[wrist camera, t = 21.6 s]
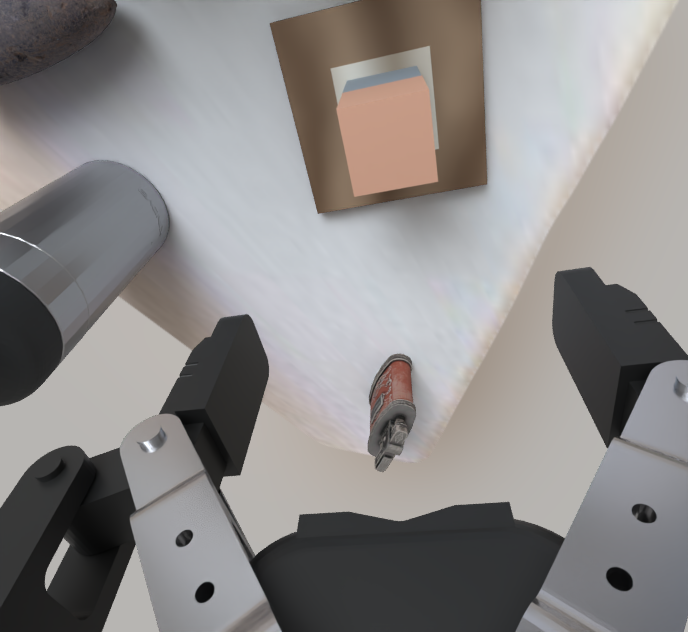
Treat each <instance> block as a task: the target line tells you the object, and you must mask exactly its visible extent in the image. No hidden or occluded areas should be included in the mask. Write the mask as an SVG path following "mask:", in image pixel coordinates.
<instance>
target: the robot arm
mask: <svg viewBox="0 0 688 632" xmlns="http://www.w3.org/2000/svg"><path fill="white" fill-rule="evenodd" d="M168 228H169V219H168V213H167V210H166V207H165V204H164V202H163V200H162V198H161V196H160V195H159V193H158V192H157V190H156V189H155V188H154V187H153V185H152V184H151V183H150V182H149V181H148V180H147V179H145V178H144V177H143V176H142V175H141V174H139V173H138V172H136V171H134V170H133V169H131V168H129V167H127V166H125V165H122V164H120V163H116V162H111V161H93V162H88V163H85V164H83V165H82V166H80V167H78V168H76V169H74V170H73V171H71V172H69V173H67V174H66V175H64V176H62V177H60V178H59V179H57V180H55V181H53V182H51V183H50V184H48V185H46V186H45V187H43V188H41V189H39V190H38V191H36V192H34V193H33V194H31V195H29V196H27V197H26V198H24V199H22V200H20V201H19V202H17V203H15V204H14V205H12V206H10V207H8V208H7V209H5V210H3V211H2V212H0V406H4V405H9V404H12V403H15V402H18V401H20V400H22V399H24V398H26V397H27V396H29V395H30V394H32V393H33V392H35V391H36V390H37V389H38V388H39V387H40V386H41V385H42V384H43V383H44V382H45V380H46V379H47V378H48V377H49V376H50V375H51V373H52V372H53V371H54V370H55V369H56V367H57V366H58V365H59V364H60V363H61V362H62V361H63V359H64V358H65V357H66V356H67V355H68V354H69V352H70V351H71V350H72V349H73V348H74V347H75V345H76V344H77V343H78V342H79V341H80V340H81V339H82V337H83V336H84V335H85V334H86V332H87V331H88V330H89V329H90V328H91V327H92V325H93V324H94V323H95V322H96V321H97V320H98V318H99V317H100V316H101V315H102V314H103V313H104V311H105V310H106V309H107V308H108V307H109V306H110V304H111V303H112V302H113V301H114V300H115V299H116V298H117V296H118V295H119V294H120V293H121V292H122V291H123V289H124V288H125V287H126V286H127V285H128V284H129V283H130V281H131V280H132V279H133V278H134V277H135V276H136V274H137V273H138V272H139V271H140V270H141V269H142V268H143V266H144V265H145V264H146V263H147V262H148V261H149V260H150V258H151V257H152V256H153V255H154V254H155V253H156V251H157V250H158V249H159V248H160V247H161V245H162V244H163V243H164V241H165V239H166V237H167V234H168ZM552 326H553V335H554V339H555V343H556V345H557V348H558V350H559V352H560V354H561V356H562V358H563V360H564V362H565V364H566V366H567V368H568V370H569V372H570V374H571V376H572V378H573V380H574V382H575V384H576V386H577V388H578V390H579V392H580V394H581V396H582V398H583V400H584V402H585V404H586V406H587V408H588V411H589V413H590V414H591V416H592V419H593V420H594V423H595V424H596V427H597V429H598V431H599V433H600V435H601V437H602V439H603V441H604V443H605V445H606V447H607V448H608V450H607V452H606V454H605V456H604V458H603V460H602V462H601V464H600V466H599V468H598V471H597V473H596V475H595V477H594V479H593V481H592V483H591V485H590V487H589V489H588V491H587V494H586V496H585V498H584V500H583V502H582V504H581V506H580V508H579V510H578V513H577V514H576V517H575V519H574V521H573V523H572V525H571V527H570V529H569V531H568V533H567V536H566V538H563V537H561V536H560V535H558V534H556V533H554V532H552V531H550V530H547V529H545V528H543V527H540V526H538V525H535V524H532V523H528V522H525V521H521V520H516V519H514V518H513V515H512V511H511V507H510V503H509V502H501V503H485V504H468V505H454V506H451V507H448V508H445V509H441V510H438V511H435V512H432V513H429V514H426V515H422V516H419V517H416V518H412V519H409V520H406V521H393V520H388V519H383V518H378V517H372V516H367V515H362V514H357V513H352V512H336V513H320V514H303V515H300V516H299V522H298V529H297V532H294V533H291V534H290V535H287V536H285V537H283V538H280V539H279V540H277V541H275V542H274V543H272V544H270V545H269V546H268V547H266V548H265V549H263V550H262V551H260V552H259V553H258V554H257V555H256V556H255V554H254V552H253V551H252V549H251V547H250V545H249V543H248V541H247V539H246V537H245V535H244V533H243V531H242V529H241V527H240V525H239V523H238V522H237V520H236V518H235V516H234V514H233V512H232V510H231V508H230V506H229V504H228V502H227V500H226V498H225V496H224V494H223V492H222V491H221V489H220V484H221V481H222V478H223V477H224V476H236V475H240V474H241V471H242V467H243V464H244V460H245V457H246V453H247V450H248V446H249V443H250V440H251V436H252V433H253V429H254V426H255V422H256V419H257V415H258V412H259V409H260V405H261V402H262V398H263V395H264V391H265V388H266V384H267V381H268V377H269V365H268V359H267V356H266V353H265V351H264V348H263V346H262V343H261V341H260V338H259V335H258V333H257V330H256V328H255V325H254V323H253V320H252V318H251V317H250V316H249V315H248V314H245V315H238V316H231V317H224V318H221V319H220V320H219V321H218V323H217V325H216V327H215V329H214V331H213V334H212V336H211V337H207V338H205V339H204V340H203V341H202V342H201V343H200V344H198V345H197V346H196V347H195V348H194V349H193V350H192V352H191V354H190V356H189V358H188V360H187V362H186V366H185V367H183V370H182V371H181V373H180V378H178V379H177V381H176V383H175V385H174V386H173V388H172V390H171V392H170V394H169V396H168V398H167V400H166V402H165V404H164V405H163V407H162V410H161V411H160V413H159V415H155V416H152V417H150V418H148V419H146V420H144V421H143V422H141V423H139V424H138V425H136V426H135V427H134V428H133V429H132V430H130V432H129V433H128V434H127V435H126V436H125V438H124V439H123V441H122V444H121V446H120V448H117V449H114V450H111V451H109V452H106V453H103V454H100V455H97V456H95V457H92V458H88V456H87V455H86V454H85V453H84V451H83V450H82V449H81V448H80V447H77V446H65V447H61V448H58V449H55V450H53V451H51V452H49V453H47V454H46V455H44V456H43V457H41V458H40V459H38V460H37V461H36V462H35V463H34V464H32V465H31V466H30V468H28V470H27V471H26V472H25V473H24V475H23V476H22V477H21V479H20V480H19V482H18V483H17V485H16V486H15V488H14V489H13V491H12V492H11V494H10V495H9V497H8V498H7V499H6V501H5V502H4V504H3V505H2V507H1V508H0V632H102V629H103V627H104V625H105V622H106V619H107V617H108V614H109V611H110V609H111V607H112V604H113V601H114V599H115V596H116V594H117V591H118V588H119V586H120V583H121V580H122V578H123V576H124V573H125V570H126V568H127V565H128V563H129V560H130V558H131V555H132V552H133V550H134V547H135V545H136V546H137V550H138V554H139V557H140V561H141V565H142V568H143V572H144V576H145V580H146V583H147V587H148V591H149V594H150V598H151V602H152V606H153V610H154V613H155V616H156V621H157V624H158V628H159V631H160V632H684V629H685V625H686V622H687V618H688V355H687V354H686V353H685V352H684V351H683V349H682V348H681V347H680V346H679V344H678V343H677V342H676V341H675V340H674V339H673V337H672V336H671V335H670V334H669V333H668V332H667V330H666V329H665V328H664V327H663V325H662V324H661V323H660V322H657V319H656V317H655V316H654V315H653V314H652V312H651V311H648V308H647V307H646V305H645V304H644V303H643V302H642V301H641V299H640V298H639V297H638V296H637V295H636V294H635V293H633V292H631V291H629V290H627V289H626V288H624V287H622V286H620V285H618V284H613V285H605V284H604V283H603V281H602V280H601V279H600V278H599V276H598V275H597V274H596V272H595V271H594V270H593V269H592V268H591V267H586V268H579V269H573V270H565V271H558V272H557V273H556V275H555V282H554V301H553V319H552ZM63 538H64V539H65V540H66V541H67V542H68V543H69V544H70V546H69V548H68V550H67V552H66V554H65V556H64V558H63V560H62V562H61V564H60V566H59V568H58V570H57V572H56V574H55V576H54V578H53V580H52V582H51V584H50V586H49V588H48V589H47V591H46V589H45V574H46V571H47V568H48V566H49V564H50V562H51V560H52V558H53V556H54V554H55V552H56V551H57V549H58V547H59V545H60V543H61V541H62V539H63Z"/></svg>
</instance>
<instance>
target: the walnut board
mask: <svg viewBox="0 0 688 632" xmlns="http://www.w3.org/2000/svg"><path fill="white" fill-rule="evenodd" d="M270 27H271V30H272V34H273V38H274V42H275V46H276V50H277V54H278V58H279V62H280V66H281V70H282V74H283V78H284V82H285V86H286V90H287V94H288V98H289V102H290V105H291V109H292V113H293V117H294V121H295V125H296V129H297V133H298V137H299V141H300V145H301V149H302V153H303V157H304V161H305V165H306V169H307V173H308V176H309V180H310V184H311V188H312V192H313V196H314V200H315V204H316V208H317V212H318V214H319V213H325V212H331V211H336V210H342V209H348V208H353V207H359V206H365V205H371V204H376V203H382V202H388V201H394V200H399V199H405V198H411V197H416V196H422V195H428V194H434V193H439V192H445V191H451V190H456V189H462V188H468V187H474V186H479V185H485V184H487V166H486V137H485V109H484V80H483V52H482V23H481V0H360V1H356V2H352V3H348V4H344V5H340V6H336V7H332V8H328V9H324V10H320V11H316V12H312V13H308V14H304V15H301V16H297V17H293V18H289V19H285V20H281V21H277V22H273V23H270ZM413 66H417V67H418V69H419V71H420V74H421V75H422V76H423V78H424V80H425V82H426V84H427V86H428V88H429V94H430V104H431V114H432V124H433V134H434V145H435V155H436V165H437V175H438V182H434V183H428V184H423V185H417V186H412V187H406V188H401V189H395V190H390V191H384V192H379V193H373V194H368V195H362V196H357V197H354V193H353V188H352V184H351V179H350V174H349V169H348V164H347V159H346V154H345V149H344V145H343V140H342V135H341V130H340V125H339V120H338V115H337V110H336V109H337V106H338V104H339V101H340V98H341V96H342V93H343V90H344V87H345V85H346V82H347V81H348V80H353V79H357V78H362V77H366V76H371V75H376V74H380V73H385V72H390V71H394V70H399V69H403V68H408V67H413Z"/></svg>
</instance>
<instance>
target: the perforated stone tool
mask: <svg viewBox="0 0 688 632" xmlns="http://www.w3.org/2000/svg"><path fill="white" fill-rule="evenodd" d="M116 7H117V4H116V1H114V0H0V85H3V84H6V83H9V82H12V81H16V80H19V79H22V78H25V77H27V76H29V75H32V74H35V73H37V72H39V71H42V70H44V69H46V68H48V67H50V66H52V65H54V64H56V63H58V62H60V61H61V60H63V59H65V58H67V57H69V56H70V55H72V54H74V53H75V52H77V51H79V50H80V49H82V48H84V47H85V46H86V45H88V44H89V43H91V42H92V41H93V40H94V39H95V38H96V37H97V36H99V35H100V34H101V32H102V31H103V30H104V29H105V28H106V27H107V26H108V24H109V23H110V22H111V20H112V18H113V16H114V14H115V11H116Z"/></svg>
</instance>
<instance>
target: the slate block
mask: <svg viewBox="0 0 688 632" xmlns="http://www.w3.org/2000/svg"><path fill="white" fill-rule="evenodd" d="M416 76H421V74H420V71H419V69H418V67H417V66H413V67H408V68H403V69H399V70H394V71H390V72H385V73H380V74H376V75H371V76H366V77H362V78H357V79H353V80H348V81H347V82H346V85H345V87H344V90H343V93H344V92H349V91H353V90H358V89H362V88H367V87H371V86H376V85H380V84H385V83H389V82H394V81H398V80H403V79H407V78H412V77H416Z"/></svg>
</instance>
